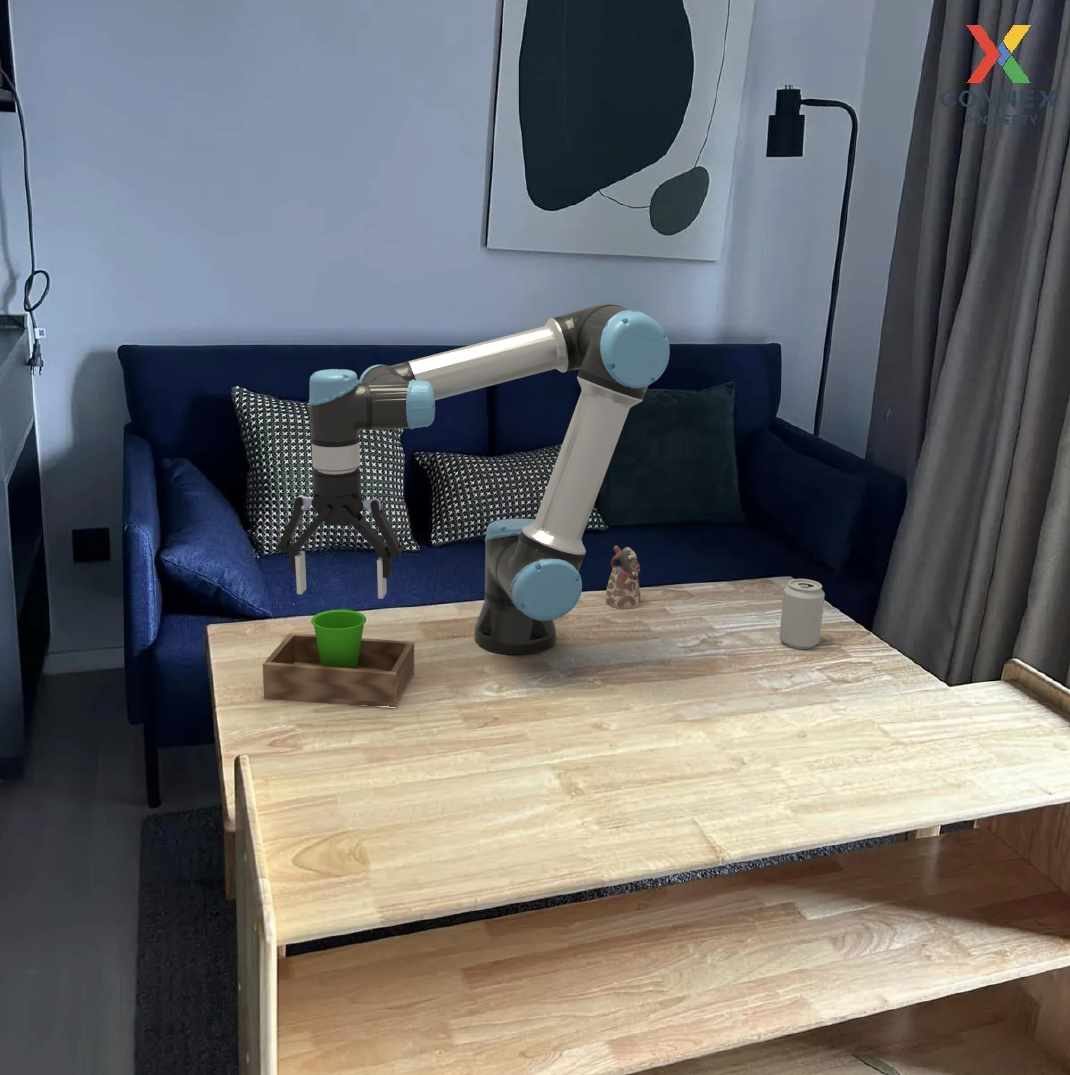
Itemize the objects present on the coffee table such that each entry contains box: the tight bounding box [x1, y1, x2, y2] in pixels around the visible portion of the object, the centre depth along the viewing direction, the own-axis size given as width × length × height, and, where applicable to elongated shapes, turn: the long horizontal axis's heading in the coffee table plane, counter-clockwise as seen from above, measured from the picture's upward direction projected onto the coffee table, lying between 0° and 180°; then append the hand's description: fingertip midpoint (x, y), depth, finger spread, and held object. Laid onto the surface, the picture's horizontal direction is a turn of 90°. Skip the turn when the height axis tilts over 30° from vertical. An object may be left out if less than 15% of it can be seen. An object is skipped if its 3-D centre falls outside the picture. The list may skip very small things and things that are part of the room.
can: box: [778, 578, 826, 650], centre depth 222 cm, size 8×8×12 cm
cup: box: [310, 609, 367, 669], centre depth 197 cm, size 9×9×11 cm
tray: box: [262, 632, 415, 708], centre depth 198 cm, size 22×14×6 cm, turn 83°
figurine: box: [605, 545, 641, 610], centre depth 240 cm, size 7×7×12 cm
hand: (342, 593), depth 194 cm, fingers open, 13 cm apart
